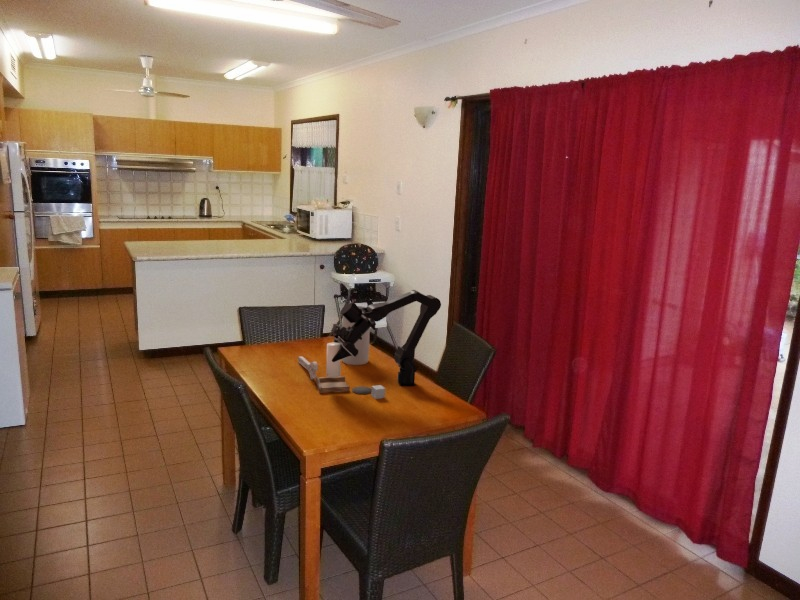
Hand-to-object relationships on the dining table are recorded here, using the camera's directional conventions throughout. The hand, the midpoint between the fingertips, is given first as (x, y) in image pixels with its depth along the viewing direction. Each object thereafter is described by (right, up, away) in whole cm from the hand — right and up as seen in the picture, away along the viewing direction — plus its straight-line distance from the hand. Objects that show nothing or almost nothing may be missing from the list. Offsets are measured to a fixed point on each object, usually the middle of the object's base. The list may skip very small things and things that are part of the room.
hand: (330, 359), depth 228 cm
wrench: (-13, -8, +23) cm, 27 cm away
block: (+19, -15, -1) cm, 24 cm away
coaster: (+12, -13, +5) cm, 19 cm away
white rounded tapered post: (+1, -6, +2) cm, 7 cm away
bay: (0, -12, +7) cm, 14 cm away
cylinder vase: (+7, -5, +40) cm, 41 cm away
